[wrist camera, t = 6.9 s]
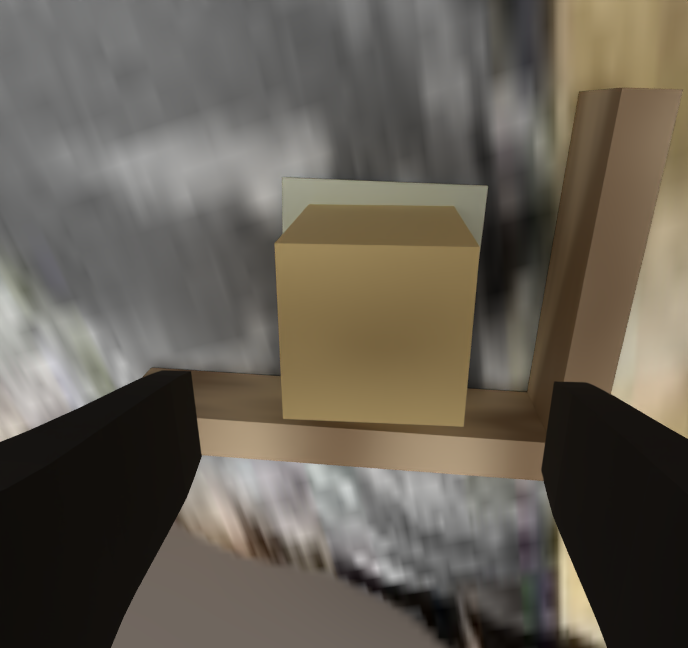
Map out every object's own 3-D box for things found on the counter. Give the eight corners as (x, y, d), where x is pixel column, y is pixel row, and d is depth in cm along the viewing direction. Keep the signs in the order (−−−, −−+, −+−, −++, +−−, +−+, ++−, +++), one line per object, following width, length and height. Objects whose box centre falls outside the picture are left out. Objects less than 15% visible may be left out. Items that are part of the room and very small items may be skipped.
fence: (628, 93, 17) (683, 89, 14) (559, 428, 22) (589, 484, 18) (119, 77, 18) (60, 71, 15) (154, 400, 23) (115, 448, 20)
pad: (487, 185, 19) (488, 186, 18) (464, 370, 21) (464, 373, 21) (283, 177, 19) (281, 177, 19) (284, 359, 22) (283, 361, 21)
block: (453, 206, 19) (480, 247, 13) (444, 340, 21) (463, 426, 15) (309, 204, 19) (274, 243, 14) (312, 336, 21) (283, 418, 15)
